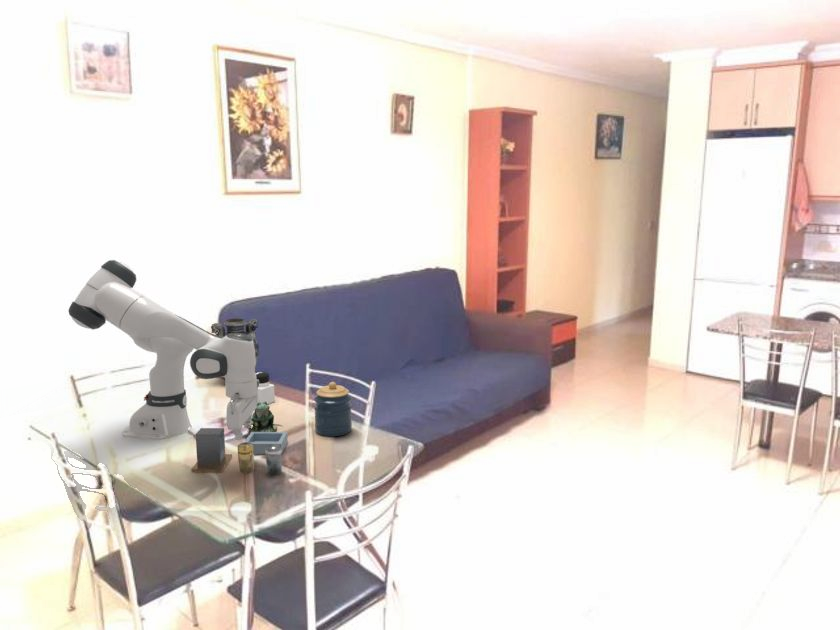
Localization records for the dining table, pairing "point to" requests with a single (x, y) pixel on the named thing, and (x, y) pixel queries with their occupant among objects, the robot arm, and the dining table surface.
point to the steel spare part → (273, 459)
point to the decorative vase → (238, 330)
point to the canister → (332, 410)
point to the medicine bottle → (265, 388)
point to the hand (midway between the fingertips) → (243, 433)
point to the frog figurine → (263, 419)
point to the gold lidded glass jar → (246, 457)
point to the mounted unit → (211, 450)
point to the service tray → (266, 440)
